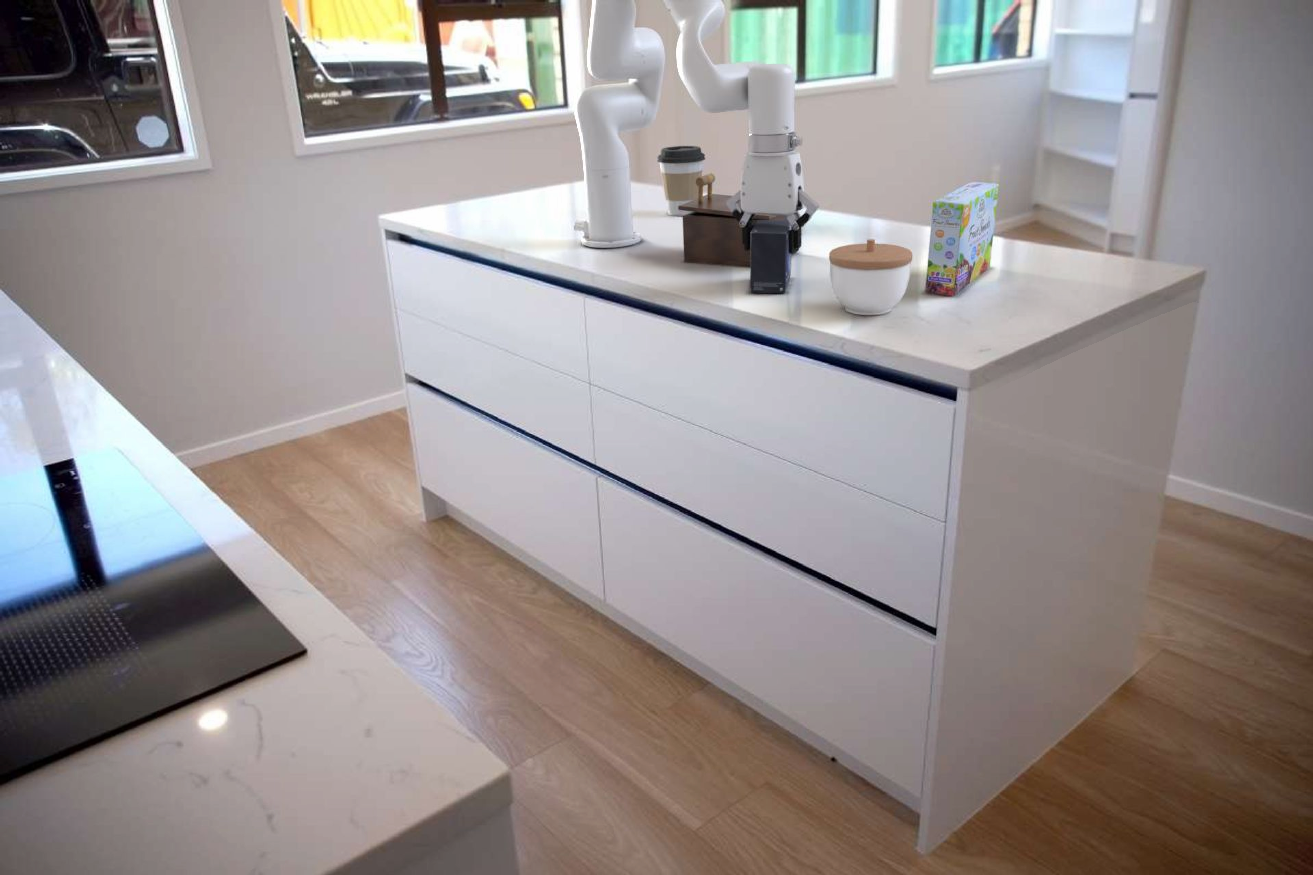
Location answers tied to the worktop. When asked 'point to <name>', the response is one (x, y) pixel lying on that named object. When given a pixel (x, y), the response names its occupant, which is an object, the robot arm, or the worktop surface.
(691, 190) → the coffee cup
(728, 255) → the chest
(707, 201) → the lid
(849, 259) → the lidded bowl
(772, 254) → the small box
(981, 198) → the snack box
